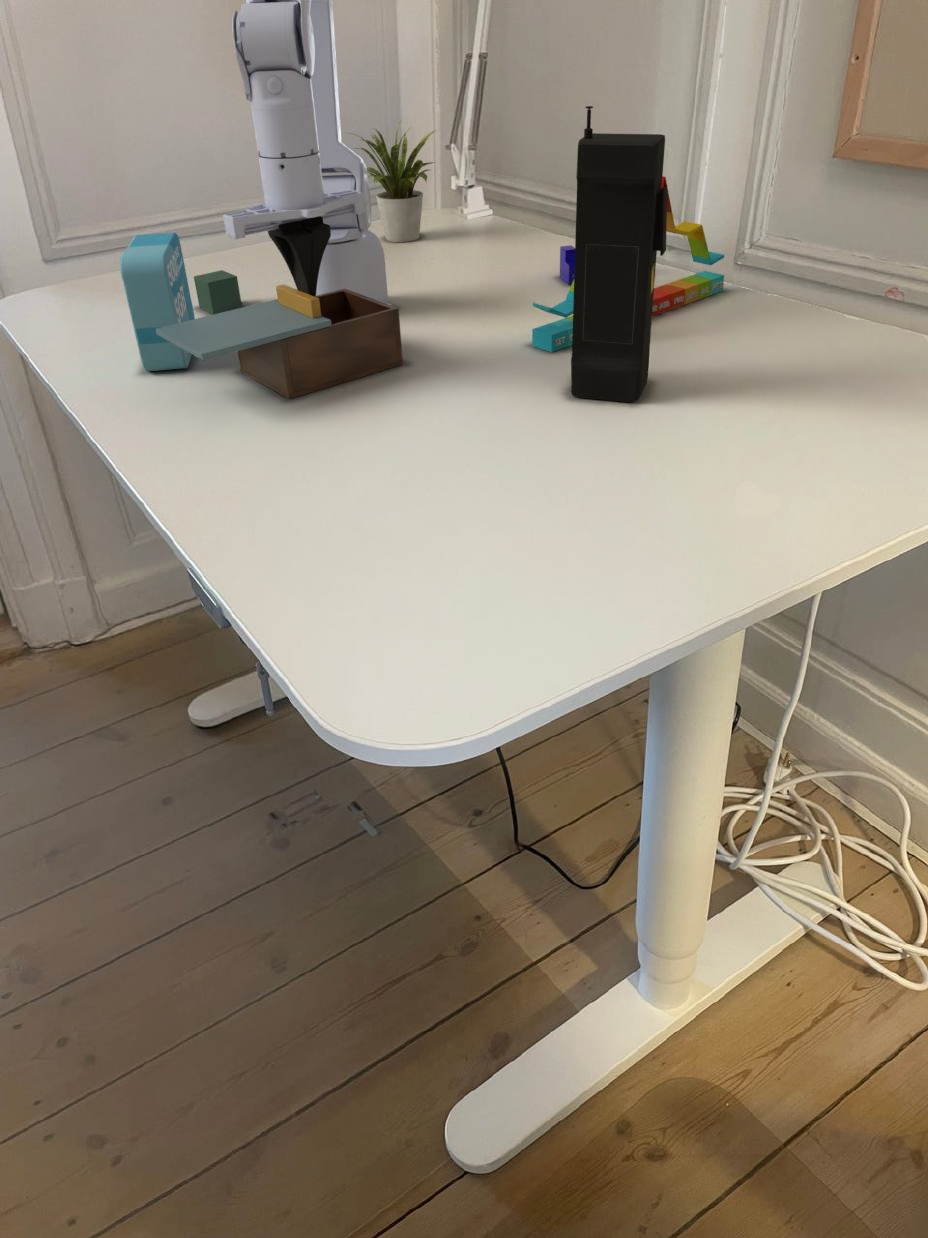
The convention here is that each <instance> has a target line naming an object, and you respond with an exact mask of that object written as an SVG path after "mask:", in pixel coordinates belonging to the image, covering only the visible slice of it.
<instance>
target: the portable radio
mask: <svg viewBox="0 0 928 1238" xmlns="http://www.w3.org/2000/svg"><path fill="white" fill-rule="evenodd" d="M593 108H594V106H592V105H585V109H587V110H586V128H584V129H583V137H582V138H580V139H579V140H578V142H577V157H576V158H577V159H576V161H577V162H576V175H575V176H576V203H575V204H576V205H575V206H576V208H575V209H576V210H575V240H574V241H575V243H574V248H575V270H574V303H573V314H572V316H573V336H572V345H571V358H570V378H571V379H570V380H571V381H570V382H571V383H570V384H571V388H570V393H571V396H573V397H574V398H581V399H592V400H602V401H603V400H604V401H613V402H623V403H632V402H635V400H636V401H637V400H638V399H639V398H640V397H641V396H642V394H643V392H644V390H645V387H646V386H647V384H648V380H649V379H648V378H649V366H650V351H651V337H652V322H653V321H652V319H653V316H652V309H653V295H654V288H655V282H656V268H657V254H658V253H657V252H659V255H660V257H663V256H664V255H665V253H666V252H667V231H666V228H667V188H668V184H667V185H664V187H663V188H662V176H663V174H664V162H665V149H666V135H664V134H658V133H656V134H655V133H597V132H596V133H595V132H594V131H593V128H592V127H591V125H592V123H591V120H592V109H593ZM663 177H664V176H663Z"/></svg>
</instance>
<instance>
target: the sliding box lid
mask: <svg viewBox="0 0 928 1238" xmlns="http://www.w3.org/2000/svg"><path fill="white" fill-rule="evenodd" d="M275 290H276V296H277V298H275V299H271V300H268V301H264V302H259V303H255V304H251V305H245V306H242V308H238V309H234V310H230V311H226V312H222V313H218V314H214V315H212V314H210V315H206V316H202V317H197V318H195V319H193V320H189V321H185V322H181V323H177V324H173V325H169V326H165V327H161V328H156V333H157V335H159V336H161V337H162V338H164V339H166V340H168V341H169V342H171V343H173V344H175V345H176V346H178V347H180V348H182V349H183V350H185V351H187V352H189V353H191V354H192V356H194V357H195V358H197V359H199V360H201V361H206V360H210V359H214V358H217V357H220V356H225V355H228V354H233V353H236V352H237V351H240V350H244V349H247V348H251V347H255V346H258V345H262V344H266V343H270V342H273V341H277V340H281V339H284V338H288V337H292V336H296V335H299V334H303V333H307V332H310V331H314V330H318V329H322V328H325V327H329V326H332V325H331V320H330V319H327V318H325V317H322V316H321V309H320V301H319V298H316V297H314V296H311V295H309V294H306V293H304V292H301V291H299V290H297V288H294V287H291V286H289V285H286V284H280V285H276V286H275Z"/></svg>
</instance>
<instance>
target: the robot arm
mask: <svg viewBox="0 0 928 1238" xmlns="http://www.w3.org/2000/svg"><path fill="white" fill-rule="evenodd" d="M333 1H334V0H245V3H242V4H241V7H240V11H238V10H234V11H233V13H232V17H231V18H232V20H231V30H232V31H231V32H232V42H233V48H234V53H235V58H236V62H237V65H238V68H239V72H240V75H241V79H242V86H243V92H244V96H245V99H246V101H249V102H250V108H251V115H252V121H253V122H252V123H253V129H254V136H255V143H256V144H255V145H256V150H257V156H258V163H259V170H260V177H261V185H262V192H263V198H264V202H263V203H260V204H257V205H254V206H250V207H246V208H243V209H241V210H238V211H233V212H230V213H224V214H223V215H222V219H223V223H224V229H225V235H226V236H227V237H228V238H231V239H234V240H240V239H245V238H246V236H250V235H254V234H260V233H265V232H267V234H268V237H269V238H270V239H271V241H272V242H273V244H274V245H275V247H276V248H277V250H278V251H279V252H280V254H281V256H282V258H283V259H284V262H285V263H286V266H287V268H288V270H289V272H290V275H291V277H292V279H293V282H294V285H295V287H296V289H297V290H299V291H301V292H304V293H306V294H309V295H311V296H314V297H316V296H317V295H321V294H325V293H329V292H333V291H337V290H341V289H348V290H351V291H353V292H356V293H359V294H361V295H364V296H367V297H369V298H372V299H374V300H377V301H380V302H382V303H385V304H388V305H390V306H393V304H392V303H390V302H389V296H388V284H387V269H386V268H387V267H386V258H385V253H384V249H383V244H382V242H381V240H380V239H379V237H378V236H377V234H376V233H375V232H373V231H372V230H370V229H369V228H370V227H371V226H372V198H371V188H370V183H369V177H368V176H369V175H368V173H367V172H368V171H367V168H368V167H367V165H366V163H365V160H364V159H363V158H362V157H361V155H360V154H357V153H356V152H355V151H354V150H352V149H351V148H349V147H348V146H347V145H346V144H344V142H343V141H342V128H341V127H342V126H341V114H340V113H341V112H340V98H339V83H338V66H337V51H336V34H335V33H336V32H335V19H334V4H333ZM338 173H348V174H341V175H340V174H338ZM323 174H331V175H323ZM333 174H334V175H333Z"/></svg>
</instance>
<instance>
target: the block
mask: <svg viewBox="0 0 928 1238" xmlns="http://www.w3.org/2000/svg"><path fill="white" fill-rule="evenodd" d="M193 281H194V286H195V291H196V296H197V302H198V308H199V309H200V310H202V311H204V312H206V313H208V314H210V315H214V314H218V313H222V312H226V311H230V310H234V309H238V308H242V307H243V304H242V299H241V292H240V287H239V280H238V276H237V275H235V274H233V273H230V272H227V271H225V270H223V269H221V270H217V271H216V270H215V271H212V272H211V271H210V272H208V273H203V274H199V275H198V274H197V275H194V276H193Z"/></svg>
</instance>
